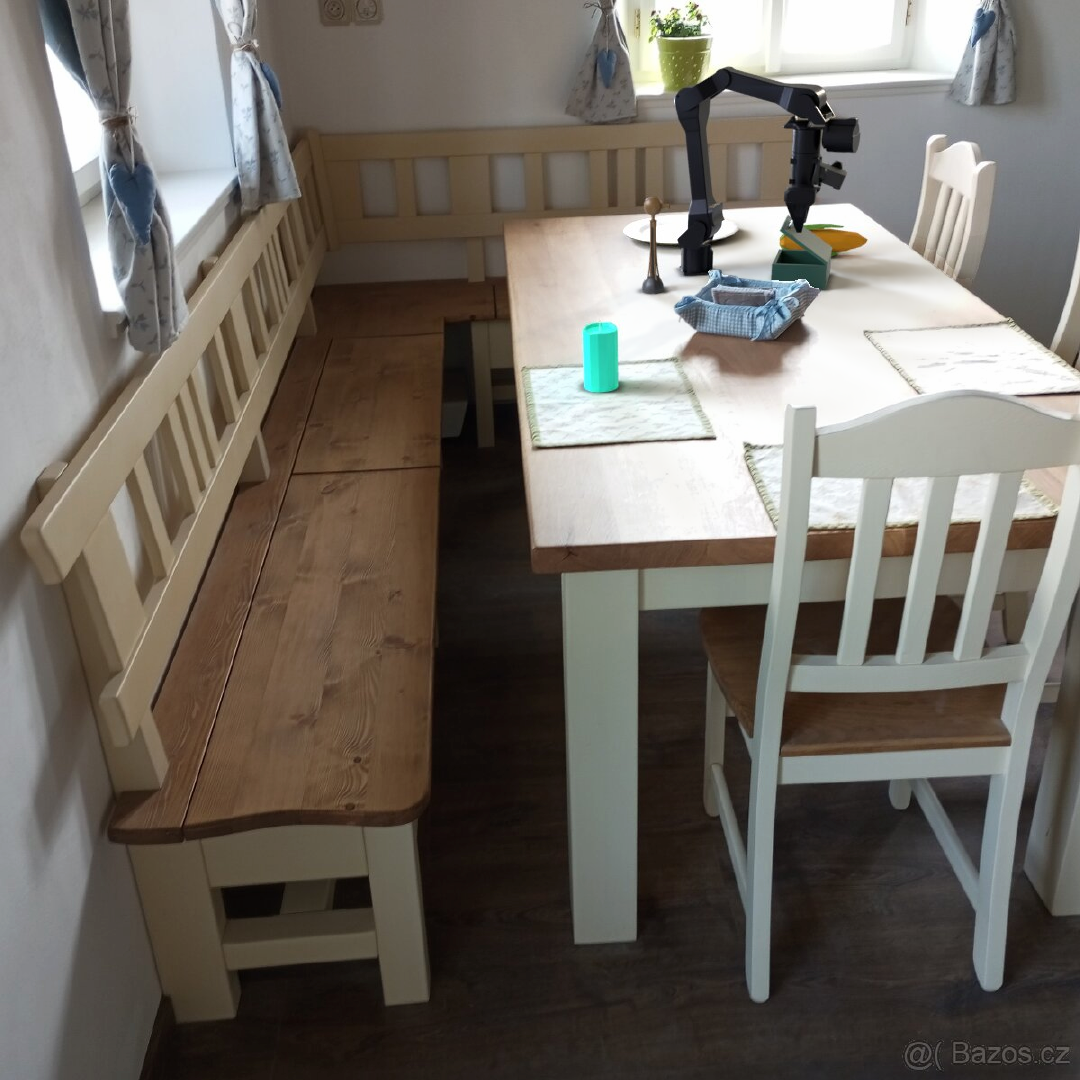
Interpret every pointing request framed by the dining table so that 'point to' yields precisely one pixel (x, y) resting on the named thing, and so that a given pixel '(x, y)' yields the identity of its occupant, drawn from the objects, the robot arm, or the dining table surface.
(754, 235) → the dining table surface
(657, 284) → the wooden tabletop sculpture
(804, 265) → the chest
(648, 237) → the plate
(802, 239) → the lid
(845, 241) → the corn
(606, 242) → the dining table surface
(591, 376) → the candle
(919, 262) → the dining table surface
